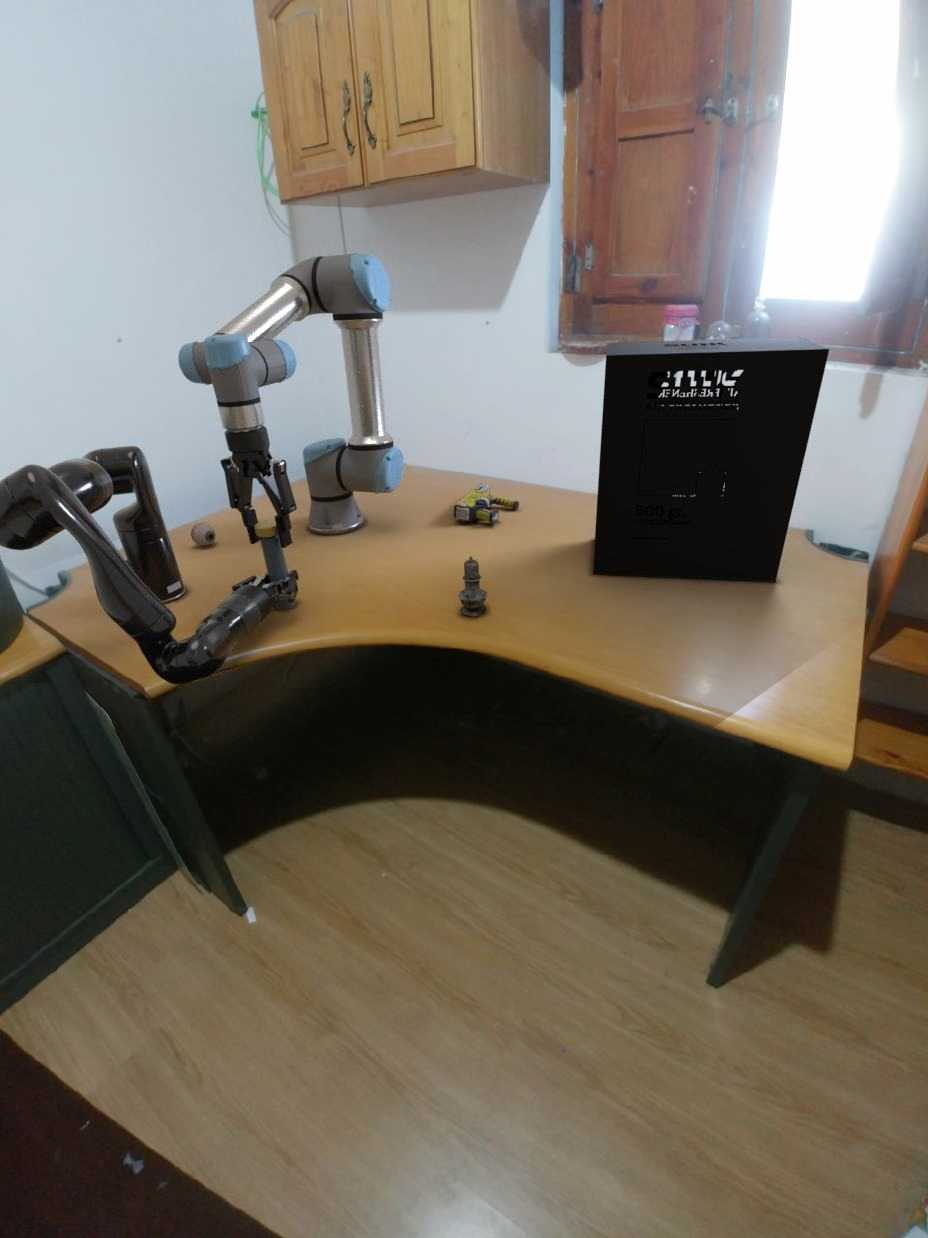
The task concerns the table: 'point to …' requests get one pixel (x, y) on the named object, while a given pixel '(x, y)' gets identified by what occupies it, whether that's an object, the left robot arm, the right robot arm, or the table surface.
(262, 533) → the lid
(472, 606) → the grey chess piece
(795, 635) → the table surface
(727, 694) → the table surface
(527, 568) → the table surface
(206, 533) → the eyeball
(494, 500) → the toy gun
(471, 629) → the table surface
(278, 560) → the bottle
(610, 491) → the cardboard box
